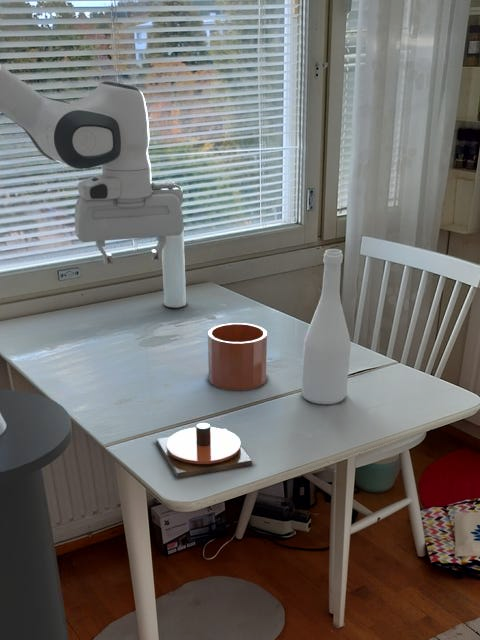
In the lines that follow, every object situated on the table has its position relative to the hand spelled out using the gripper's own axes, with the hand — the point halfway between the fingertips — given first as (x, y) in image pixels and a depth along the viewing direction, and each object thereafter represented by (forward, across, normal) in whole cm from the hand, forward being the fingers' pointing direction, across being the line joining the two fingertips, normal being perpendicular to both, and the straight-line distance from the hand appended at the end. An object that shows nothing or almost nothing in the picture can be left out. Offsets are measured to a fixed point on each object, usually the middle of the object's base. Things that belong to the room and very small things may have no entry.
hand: (132, 262), depth 150 cm
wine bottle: (+28, -37, +12) cm, 48 cm away
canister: (+28, -22, -2) cm, 36 cm away
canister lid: (+26, -5, +29) cm, 39 cm away
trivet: (+28, -5, +29) cm, 40 cm away
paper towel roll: (+28, -24, -58) cm, 68 cm away
